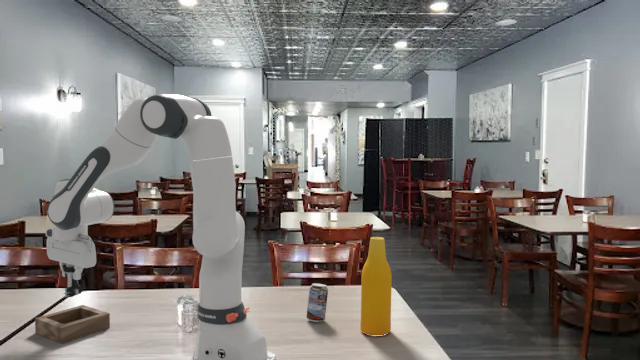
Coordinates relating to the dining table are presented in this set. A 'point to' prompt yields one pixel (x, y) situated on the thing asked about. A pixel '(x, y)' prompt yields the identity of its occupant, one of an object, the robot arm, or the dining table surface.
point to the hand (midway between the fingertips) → (71, 278)
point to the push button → (71, 282)
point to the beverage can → (317, 302)
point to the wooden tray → (72, 323)
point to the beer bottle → (376, 290)
